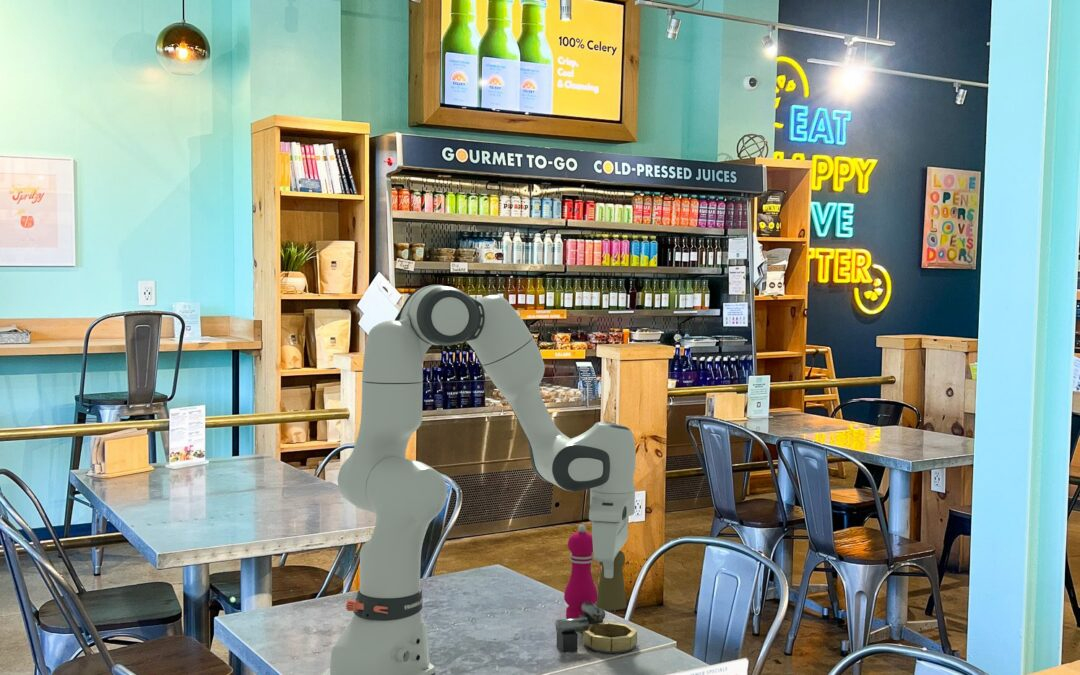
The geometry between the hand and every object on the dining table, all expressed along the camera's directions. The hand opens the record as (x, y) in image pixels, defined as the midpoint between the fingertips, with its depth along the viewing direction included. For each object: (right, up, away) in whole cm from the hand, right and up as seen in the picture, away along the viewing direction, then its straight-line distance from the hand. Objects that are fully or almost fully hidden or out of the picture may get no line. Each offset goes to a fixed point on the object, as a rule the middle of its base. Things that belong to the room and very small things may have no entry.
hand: (611, 573), depth 208 cm
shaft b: (-3, -14, +8) cm, 16 cm away
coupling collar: (0, -14, 0) cm, 14 cm away
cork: (0, -7, 0) cm, 7 cm away
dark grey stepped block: (-8, -14, -2) cm, 16 cm away
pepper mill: (-5, -14, +19) cm, 24 cm away
